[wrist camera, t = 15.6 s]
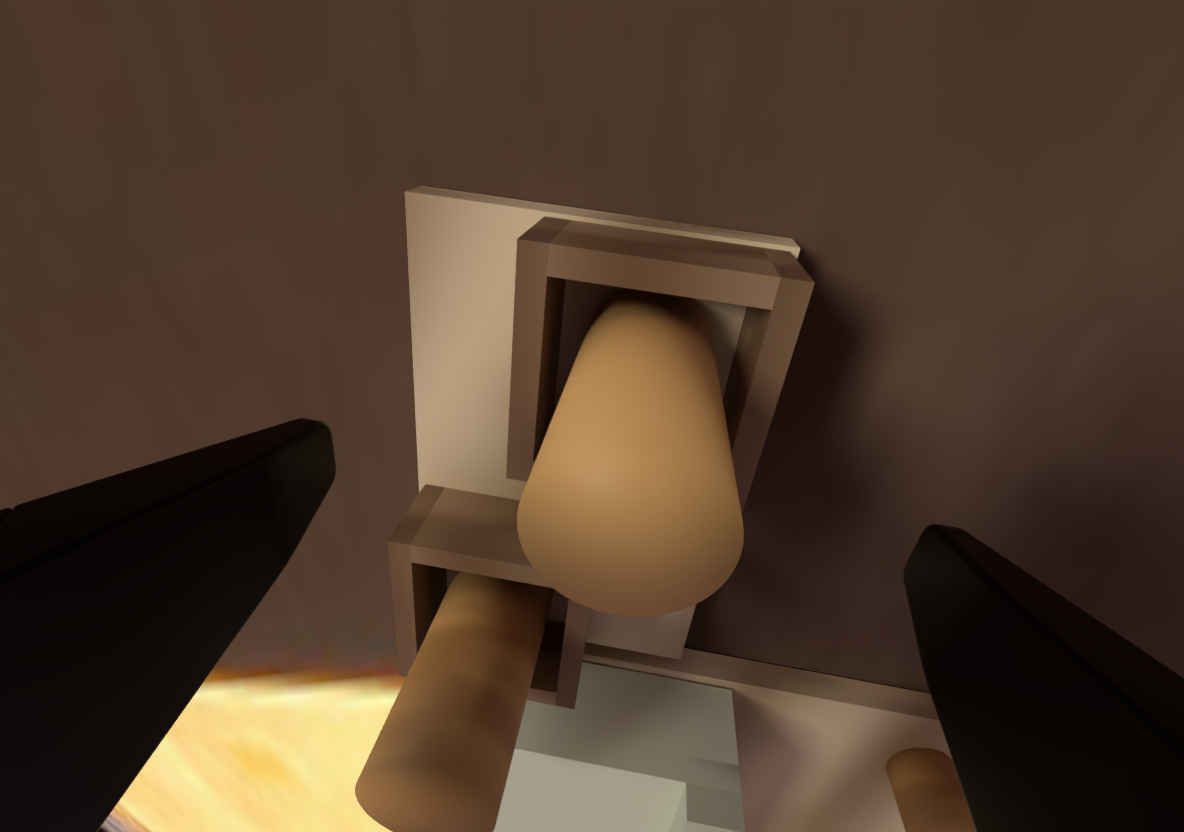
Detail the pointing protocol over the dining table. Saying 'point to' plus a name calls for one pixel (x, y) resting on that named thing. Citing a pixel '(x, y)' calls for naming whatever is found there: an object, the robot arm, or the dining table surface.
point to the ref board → (823, 746)
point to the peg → (636, 466)
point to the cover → (626, 759)
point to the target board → (507, 455)
